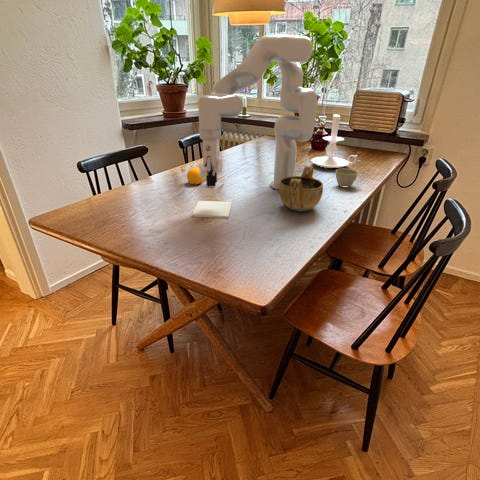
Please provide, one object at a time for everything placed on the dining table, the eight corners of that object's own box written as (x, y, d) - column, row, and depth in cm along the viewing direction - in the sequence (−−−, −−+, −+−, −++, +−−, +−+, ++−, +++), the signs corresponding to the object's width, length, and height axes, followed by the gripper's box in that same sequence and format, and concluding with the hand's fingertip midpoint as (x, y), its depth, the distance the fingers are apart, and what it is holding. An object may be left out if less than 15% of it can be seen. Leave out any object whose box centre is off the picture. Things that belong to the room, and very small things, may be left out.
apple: (201, 186, 152) (200, 171, 149) (185, 185, 154) (183, 169, 150) (205, 181, 159) (205, 166, 156) (190, 180, 161) (189, 165, 157)
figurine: (206, 188, 130) (204, 151, 122) (227, 192, 126) (226, 154, 119) (196, 195, 124) (193, 155, 117) (217, 199, 120) (216, 158, 113)
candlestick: (348, 176, 168) (358, 119, 155) (304, 168, 181) (310, 114, 167) (360, 167, 183) (370, 114, 170) (319, 160, 195) (325, 110, 182)
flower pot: (356, 184, 157) (359, 169, 153) (353, 190, 149) (356, 175, 146) (335, 181, 161) (337, 167, 157) (331, 187, 153) (333, 172, 149)
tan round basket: (312, 223, 119) (317, 183, 112) (269, 214, 125) (271, 176, 118) (325, 202, 137) (330, 167, 130) (286, 195, 143) (289, 161, 136)
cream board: (232, 203, 134) (232, 201, 134) (228, 218, 122) (228, 216, 122) (198, 202, 135) (198, 200, 135) (191, 216, 123) (191, 214, 123)
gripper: (217, 138, 107) (218, 191, 116) (223, 129, 122) (224, 177, 130) (195, 138, 108) (198, 191, 116) (203, 129, 122) (205, 176, 131)
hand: (211, 183), depth 123 cm, fingers closed on figurine, 3 cm apart
